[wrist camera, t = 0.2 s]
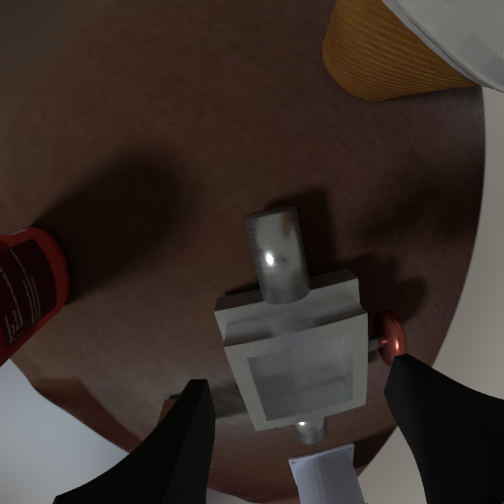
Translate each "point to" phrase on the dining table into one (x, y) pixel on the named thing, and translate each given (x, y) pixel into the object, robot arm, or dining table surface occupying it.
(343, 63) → the disposable coffee cup
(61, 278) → the canned food
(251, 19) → the dining table surface
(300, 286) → the valve body
